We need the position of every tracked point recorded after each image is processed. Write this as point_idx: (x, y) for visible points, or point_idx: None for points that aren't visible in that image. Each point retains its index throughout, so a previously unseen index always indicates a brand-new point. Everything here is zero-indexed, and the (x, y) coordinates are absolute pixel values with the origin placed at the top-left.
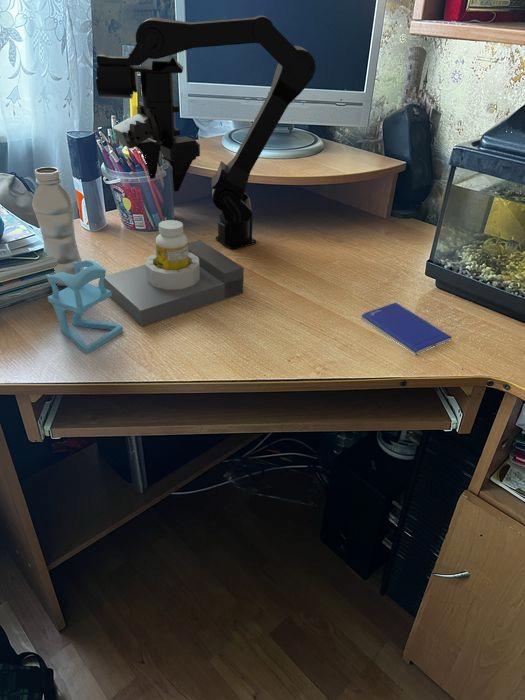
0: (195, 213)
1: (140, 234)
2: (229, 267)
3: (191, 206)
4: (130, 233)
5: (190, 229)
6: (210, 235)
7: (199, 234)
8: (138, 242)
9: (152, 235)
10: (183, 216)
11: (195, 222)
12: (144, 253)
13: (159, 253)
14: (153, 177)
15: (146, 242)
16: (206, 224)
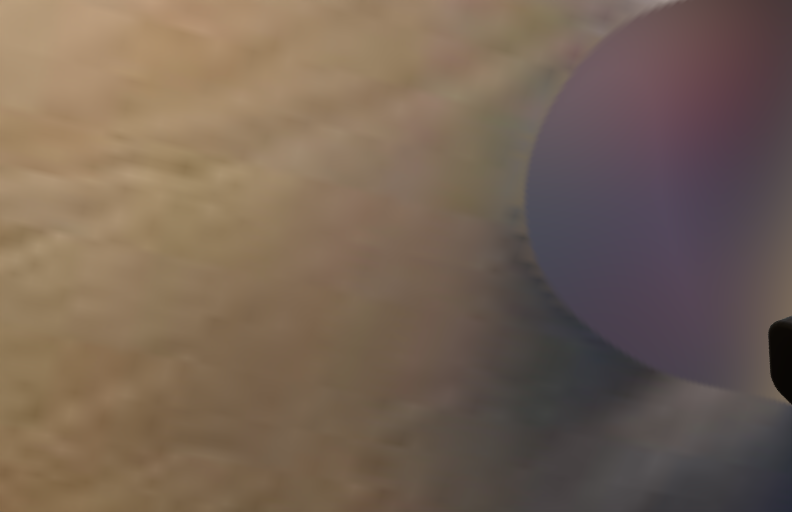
0: (680, 471)
1: (513, 88)
2: None
3: (776, 468)
4: (553, 24)
5: (477, 406)
6: (353, 496)
7: (388, 441)
8: (388, 39)
9: (470, 163)
10: (669, 403)
11: (563, 450)
12: (185, 32)
13: None
14: (779, 369)
15: (371, 95)
16: (513, 501)
